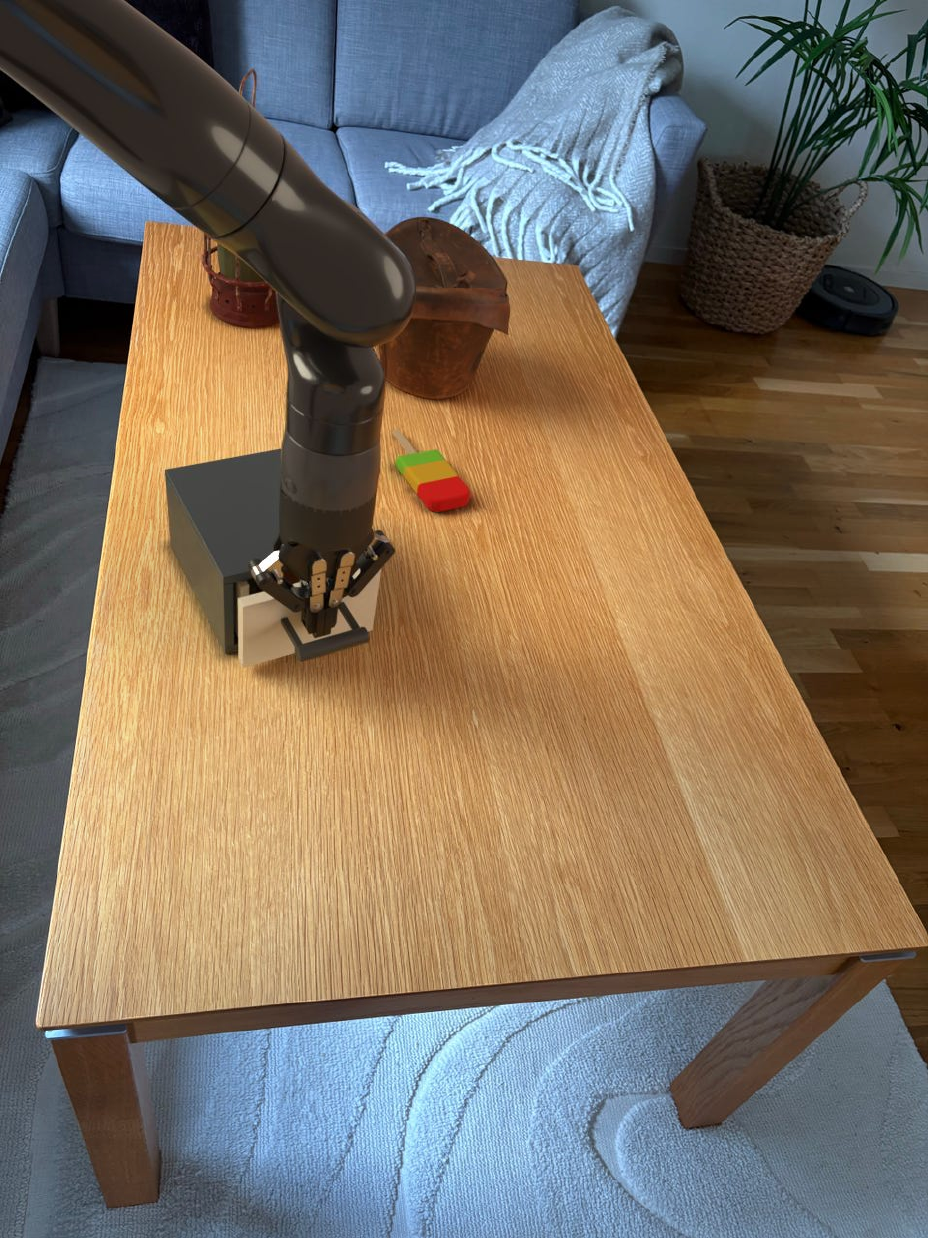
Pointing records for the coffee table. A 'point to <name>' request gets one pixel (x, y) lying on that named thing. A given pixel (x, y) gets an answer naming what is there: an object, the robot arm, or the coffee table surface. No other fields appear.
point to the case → (445, 309)
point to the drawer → (297, 625)
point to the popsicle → (431, 477)
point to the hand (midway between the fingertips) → (317, 630)
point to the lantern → (239, 281)
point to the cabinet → (223, 528)
